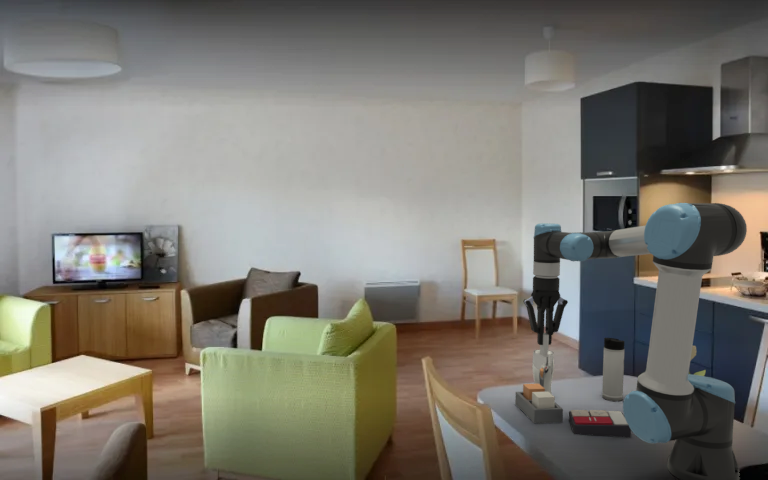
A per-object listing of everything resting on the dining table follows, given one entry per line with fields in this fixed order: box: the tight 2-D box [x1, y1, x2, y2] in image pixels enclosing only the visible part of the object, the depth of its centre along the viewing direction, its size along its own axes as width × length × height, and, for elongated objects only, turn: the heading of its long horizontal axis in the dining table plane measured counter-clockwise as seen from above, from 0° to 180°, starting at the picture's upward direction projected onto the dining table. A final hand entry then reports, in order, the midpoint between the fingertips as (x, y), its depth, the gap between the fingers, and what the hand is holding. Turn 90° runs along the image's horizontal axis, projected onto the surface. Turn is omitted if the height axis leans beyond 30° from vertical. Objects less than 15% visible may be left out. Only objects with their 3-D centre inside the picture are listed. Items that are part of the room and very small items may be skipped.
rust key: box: [522, 383, 545, 400], centre depth 187 cm, size 5×5×4 cm
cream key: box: [532, 391, 556, 409], centre depth 179 cm, size 5×5×4 cm
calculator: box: [568, 409, 632, 439], centre depth 171 cm, size 11×4×15 cm
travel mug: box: [601, 337, 625, 402], centre depth 196 cm, size 6×7×20 cm
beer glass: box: [531, 349, 555, 395], centre depth 197 cm, size 7×7×15 cm
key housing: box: [514, 391, 564, 424], centre depth 183 cm, size 16×9×4 cm, turn 7°
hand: (544, 355), depth 178 cm, fingers closed
